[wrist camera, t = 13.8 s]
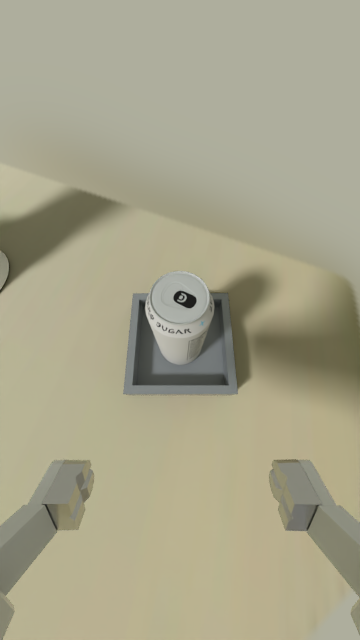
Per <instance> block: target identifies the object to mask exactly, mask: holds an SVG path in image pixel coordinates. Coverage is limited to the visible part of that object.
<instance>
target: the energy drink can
mask: <svg viewBox="0 0 360 640" xmlns="http://www.w3.org/2000/svg"><path fill="white" fill-rule="evenodd" d="M145 311H146V316H147V318H148V321H149V324H150V326H151V328H152V331H153V333H154V336H155V338H156V341H157V343H158V346H159V348H160V351H161V353H162V355H163V356H164V358H165V359H166V360H168V361H169V362H171V363H173V364H177V365H184V364H188V363H190V362H192V361H194V360H195V359H196V358H197V357H198V355H199V354H200V351H201V348H202V346H203V343H204V340H205V337H206V334H207V332H208V329H209V326H210V323H211V320H212V317H213V314H214V301H213V298H212V295H211V293H210V292H209V290H208V288H207V286H206V284H205V283H204V281H203V280H202V279H200V278H199V277H198V276H196V275H194V274H192V273H189V272H185V271H174V272H170V273H167V274H165V275H163V276H161V277H160V278H159V279H158V280H157V281H156V282H155V283H154V284H153V286H152V288H151V291H150V293H149V295H148V297H147V300H146V305H145Z"/></svg>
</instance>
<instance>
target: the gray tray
mask: <svg viewBox="0 0 360 640" xmlns="http://www.w3.org/2000/svg"><path fill="white" fill-rule="evenodd" d="M148 295H149V293H141V294H133V299H132V310H131V320H130V330H129V341H128V351H127V361H126V372H125V382H124V392H123V394H126V395H235V394H238V390H237V380H236V370H235V360H234V350H233V339H232V329H231V319H230V309H229V299H228V293H211V295H212V298H213V301H214V314H213V317H212V320H211V323H210V326H209V329H208V332H207V334H206V337H205V340H204V343H203V346H202V348H201V351H200V354H199V355H198V357H197V358H196V359H195V360H194V361H192V362H190V363H188V364H184V365H177V364H173V363H171V362H169V361H168V360H166V359H165V358H164V356H163V355H162V353H161V351H160V348H159V346H158V343H157V341H156V338H155V336H154V333H153V331H152V328H151V326H150V324H149V321H148V318H147V316H146V311H145V305H146V300H147V297H148Z"/></svg>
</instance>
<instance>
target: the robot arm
mask: <svg viewBox="0 0 360 640" xmlns="http://www.w3.org/2000/svg"><path fill="white" fill-rule="evenodd" d="M8 272H9V262H8V259H7V257H6V255H5V254H4V253H3V252H2V251H1V250H0V289H1V288H2V286H3V285H4V283H5V281H6V279H7V276H8ZM90 467H91V462H90V460H54V461H53V462H52V463H51V464H50V466H49V468H48V469H47V471H46V473H45V475H44V477H43V478H42V480H41V482H40V484H39V485H38V487H37V489H36V491H35V492H34V494H33V496H32V498H31V499H30V501H29V503H28V505H23V506H22V507H21V508H20V509H19V510H17V511H16V512H15V513H14V514H13V515H12V516H11V517H10V518H9V519H7V520H6V521H5V522H4V523H3V524H2V525H1V526H0V640H2V639H3V637H4V635H5V632H6V630H7V628H8V626H9V623H10V621H11V619H12V616H13V614H14V605H13V604H12V603H11V602H10V601H9V600H8V598H7V597H6V595H7V593H8V592H9V591H10V590H11V589H12V587H13V586H14V585H15V584H16V582H17V581H18V580H19V579H20V577H21V576H22V575H23V574H24V572H25V571H26V570H27V569H28V567H29V566H30V565H31V564H32V562H33V561H34V560H35V559H36V558H37V556H38V555H39V554H40V553H41V551H42V550H43V549H44V548H45V546H46V545H47V544H48V543H49V541H50V540H51V539H52V538H53V536H54V535H55V534H56V533H57V530H78V529H79V526H80V523H81V520H82V518H83V515H84V512H85V505H84V502H85V501H86V500H87V499H88V498H89V497H90V494H91V491H92V488H93V483H94V473H93V471H92V470H91V469H90ZM272 467H273V469H272V470H271V471H270V474H269V482H270V487H271V491H272V494H273V497H274V498H275V499H276V500H277V501H278V502H279V508H278V511H279V514H280V517H281V520H282V522H283V525H284V528H285V530H287V531H307V533H308V535H309V536H310V537H311V538H312V539H313V541H314V542H315V543H316V544H317V546H318V547H319V548H320V549H321V551H322V552H323V553H324V554H325V556H326V557H327V558H328V559H329V560H330V562H331V563H332V564H333V565H334V567H335V568H336V569H337V570H338V572H339V573H340V574H341V575H342V577H343V578H344V579H345V580H346V581H347V583H348V584H349V585H350V586H351V588H352V589H353V590H354V591H355V593H356V594H357V595H358V596H359V600H358V601H357V602H356V603H355V605H354V606H353V607H352V609H351V616H352V618H353V621H354V623H355V625H356V627H357V630H358V632H359V634H360V523H359V522H358V521H357V520H356V519H355V518H354V517H353V516H352V515H350V514H349V513H348V512H347V511H346V510H345V509H344V508H343V507H341V506H340V505H336V504H335V502H334V500H333V498H332V497H331V495H330V493H329V491H328V490H327V488H326V486H325V484H324V483H323V481H322V479H321V477H320V476H319V474H318V472H317V470H316V469H315V467H314V465H313V464H312V462H311V461H310V460H296V459H292V460H274V461H273V462H272Z"/></svg>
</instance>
